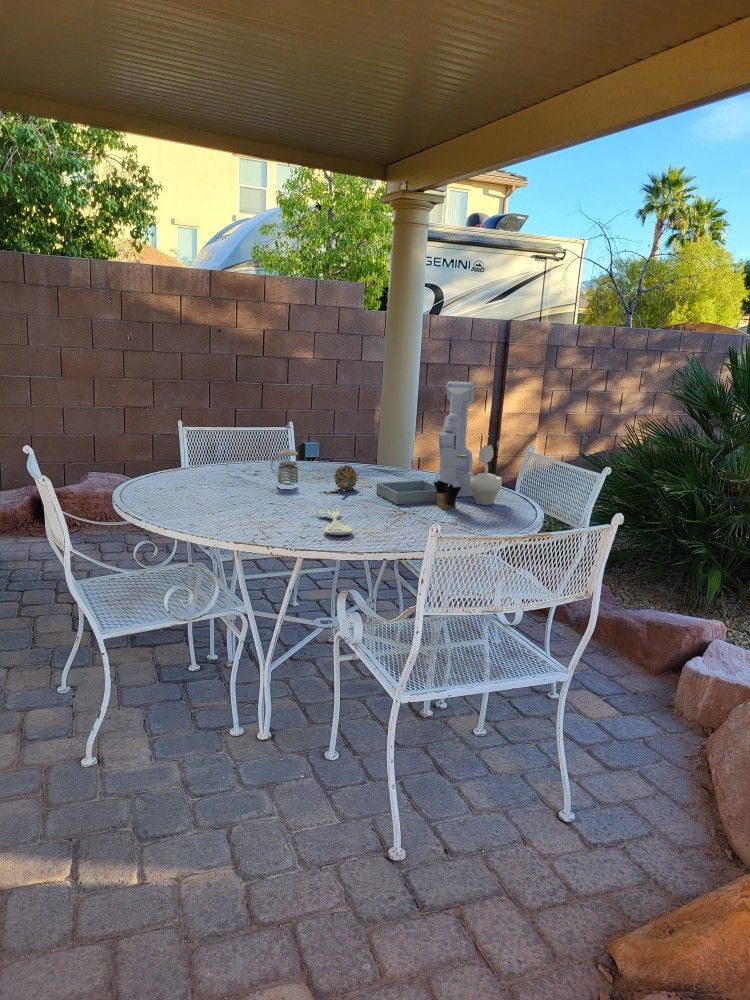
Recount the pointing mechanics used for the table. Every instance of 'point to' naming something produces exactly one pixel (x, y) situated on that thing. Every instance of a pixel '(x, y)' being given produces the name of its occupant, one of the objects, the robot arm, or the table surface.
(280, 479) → the french press
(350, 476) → the pine cone
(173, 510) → the table surface
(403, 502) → the slate bin
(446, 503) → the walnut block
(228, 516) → the table surface
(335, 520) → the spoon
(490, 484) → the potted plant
